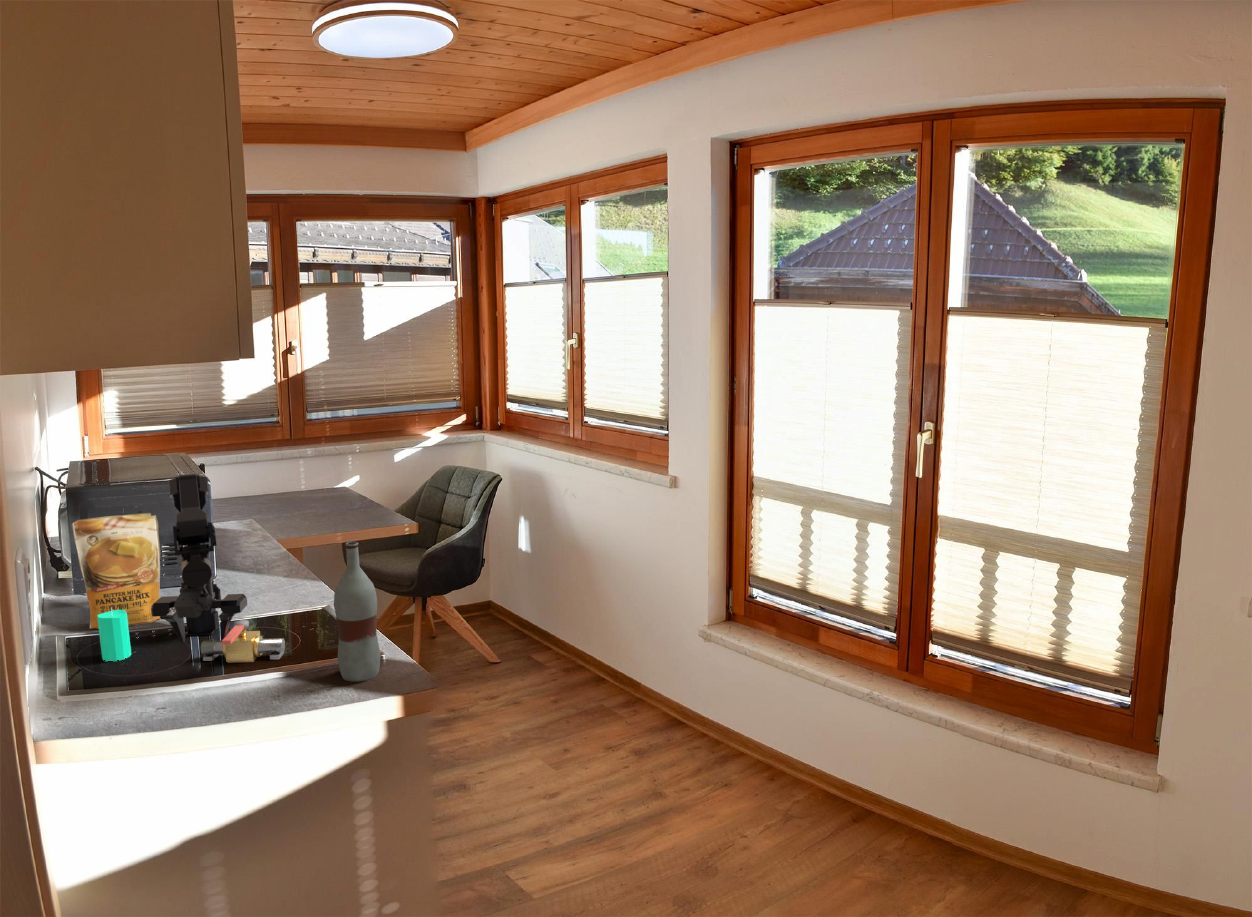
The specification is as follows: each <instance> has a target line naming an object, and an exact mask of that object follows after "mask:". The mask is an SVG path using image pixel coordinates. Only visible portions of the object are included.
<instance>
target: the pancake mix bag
mask: <svg viewBox="0 0 1252 917" xmlns="http://www.w3.org/2000/svg"><path fill="white" fill-rule="evenodd" d="M70 525H71V529H72V534H73V539H74V540H73V542H74V544H75V547H76V552H77V557H78V558H77V559H78V562H79V568H80V571H81V572H80V573H81V575H82V578H83V581H84V587H85V593H86V598H87V602H88V604H89V605H88V606H89V614H90V619H89V620H90V621H89V622H90V623H89V629H98V630H99V627H98V619H97V615H99V614H102V613H105V612H109V611H111V607H112V610H125V611H126V613H127V620H128V627H130V626H138V625H145V624H151V623H153V622H155V621H157V620H161V619H160V616H156V617H153V616H152V613H151V607H152V605H153V603H155V602H156V601H157V600H158V599H159V598H161V597H160V595H161V588H160V587H161V586H160V584H161V582H160V580H161V561H160V560H161V547H160V536H159V520H158V517H157V515H155V514H154V515H152V512H141V513H131V514H123V515H119V514H118V515H108V516H100V517H99V516H98V517H90V518H82V519H77V520H76V521H74V522H73V523H70Z"/></svg>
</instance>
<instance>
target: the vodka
mask: <svg viewBox="0 0 1252 917" xmlns="http://www.w3.org/2000/svg"><path fill="white" fill-rule="evenodd" d="M345 550H346V569H345V571H344V573H343V574H342V576H341V578H340V579H339V581H338V583H337V585H336V586H335V589H334V595H333V608H334V613H335V619H336V625H337V633H338V646H337V647H338V648H337V664H338V668H339V672H340V675H341V677H342V678H341V679H343V680H345V681H347V682H352V683H353V682H364V681H368V680H371V679H374V678H375V677H377V676H378V675H379V671H380V667H381V657H382V656H381V650H380V645H379V640H378V636H377V622H378V621H377V620H378V619H377V617H378V616H377V615H378V597H377V592H376V591H377V590H376V588H375V586H374V585H375V584H374V582H372V581H371V579H370V578H369V577H368V575H367V574H366V572H364V570H363V569H362V567H360V557H359V555H360V554H359V542H358V541H348V542H346V543H345Z"/></svg>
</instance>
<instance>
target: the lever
mask: <svg viewBox="0 0 1252 917" xmlns="http://www.w3.org/2000/svg"><path fill="white" fill-rule="evenodd" d="M249 627H250V622H249V620H248V619H240V620H236V621H234V622H233V627H232V628H231V630H230V631H229V632H227V635H226V637H225V638H224V639H223V640H222V645H223V644H231V643H232V642H233V641H234V640H235V639H236V637H237V636H238V635H239V634H240V633H241V632H242V630H243V629H246V630H247V629H249Z"/></svg>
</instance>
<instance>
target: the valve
mask: <svg viewBox="0 0 1252 917" xmlns="http://www.w3.org/2000/svg"><path fill="white" fill-rule="evenodd" d="M285 650H286V641H285V638H279V637H278V638H263V636H262V635H261V631H260V630H250V631H249V630H247V628H246V629H243V630H242V632H241V633H240V634H239V635H238V636H237V637H236V639H235V640H234V641H233V642H232V643H231V644H223V645H222V641H221V639H220V640H217V639H216V640H203V641H202V642H201V645H200V652H201V655H202V656H203V657H202V661H211V660H213V659H214V658H215V659H216V658H218V656H219V655H223V657H224V658H225V660H226V662H228V663H229V664H230V663H231V664H232V663H233V664H234V663H235V664H236V663H254V662H255V661H256V659H257V658H258V657H259V658H260V657H262V655H263V654H269V660H275V661H276V660H280V659H281V658H282V657H283V655H284V654H285ZM215 659H214V660H215ZM214 660H213V661H214ZM228 663H227V664H228Z"/></svg>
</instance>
